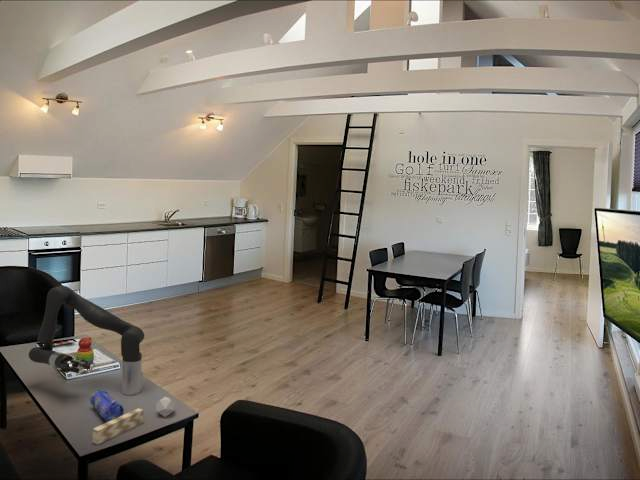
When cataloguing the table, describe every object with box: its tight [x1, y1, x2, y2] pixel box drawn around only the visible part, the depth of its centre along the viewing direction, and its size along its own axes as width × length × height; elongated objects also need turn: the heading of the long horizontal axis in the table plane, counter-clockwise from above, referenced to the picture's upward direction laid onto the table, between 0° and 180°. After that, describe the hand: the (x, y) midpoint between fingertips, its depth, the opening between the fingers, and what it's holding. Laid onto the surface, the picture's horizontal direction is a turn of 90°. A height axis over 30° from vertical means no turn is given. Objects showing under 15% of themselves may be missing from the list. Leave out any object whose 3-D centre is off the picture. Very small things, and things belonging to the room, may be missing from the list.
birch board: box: [92, 407, 144, 445], centre depth 223 cm, size 24×3×6 cm, turn 151°
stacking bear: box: [75, 336, 95, 366], centre depth 289 cm, size 11×10×18 cm
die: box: [155, 396, 175, 418], centre depth 241 cm, size 8×9×10 cm
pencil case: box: [89, 389, 125, 423], centre depth 237 cm, size 22×9×10 cm, turn 42°
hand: (83, 369), depth 243 cm, fingers open, 5 cm apart
